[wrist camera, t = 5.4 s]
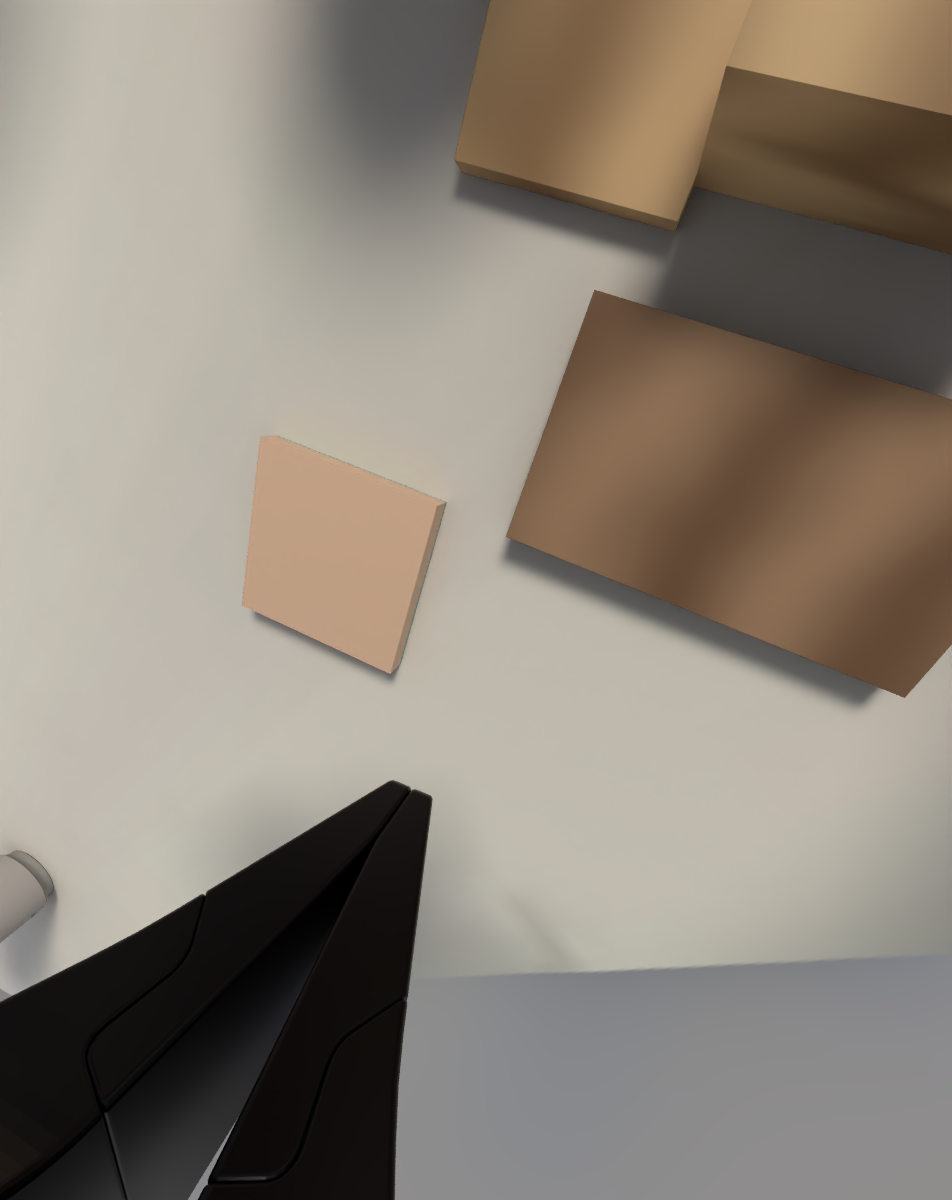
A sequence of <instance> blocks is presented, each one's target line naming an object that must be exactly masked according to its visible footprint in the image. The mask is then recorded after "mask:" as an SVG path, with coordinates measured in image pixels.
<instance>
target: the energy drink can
mask: <svg viewBox="0 0 952 1200" xmlns="http://www.w3.org/2000/svg"><path fill="white" fill-rule="evenodd" d="M52 891H53V883H52V880H51V878H50V876H49V875H48V873H47V872H46V870H45V869H44V868H43V867H42V866H41V865H40V863H38V862H37V861H36V860H35V859H34V858H32V857H31V856H29V855H28V854H26V853H24V852H21V851H14V852H12V853H11V854H9V855H0V943H1V942H2V941H3V940H4V939H5V938H7V937H8V936H9V935H10V934H12V933H13V932H14V931H15V930H16V929H18V928H19V927H20V926H21V925H23V924H24V923H25V922H26V921H27V920H29V919H30V918H31V917H32V916H34V915H35V914H36V913H37V912H38V911H40V910H41V909H42V908H43V907H44V906H45V904H46V899H47V897H48V895H50V894H51V893H52Z"/></svg>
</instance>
